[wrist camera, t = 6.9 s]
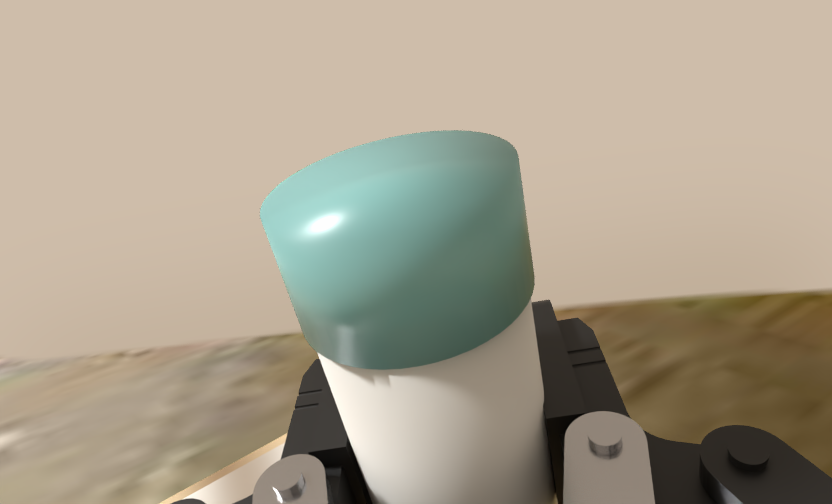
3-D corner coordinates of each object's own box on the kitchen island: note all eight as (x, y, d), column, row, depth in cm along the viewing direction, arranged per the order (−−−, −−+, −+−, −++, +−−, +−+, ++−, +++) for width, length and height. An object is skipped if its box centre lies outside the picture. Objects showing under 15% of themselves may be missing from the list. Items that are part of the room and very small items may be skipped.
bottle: (512, 533, 16) (427, 118, 11) (618, 649, 13) (577, 156, 8) (396, 620, 15) (230, 194, 9) (486, 771, 12) (319, 276, 6)
